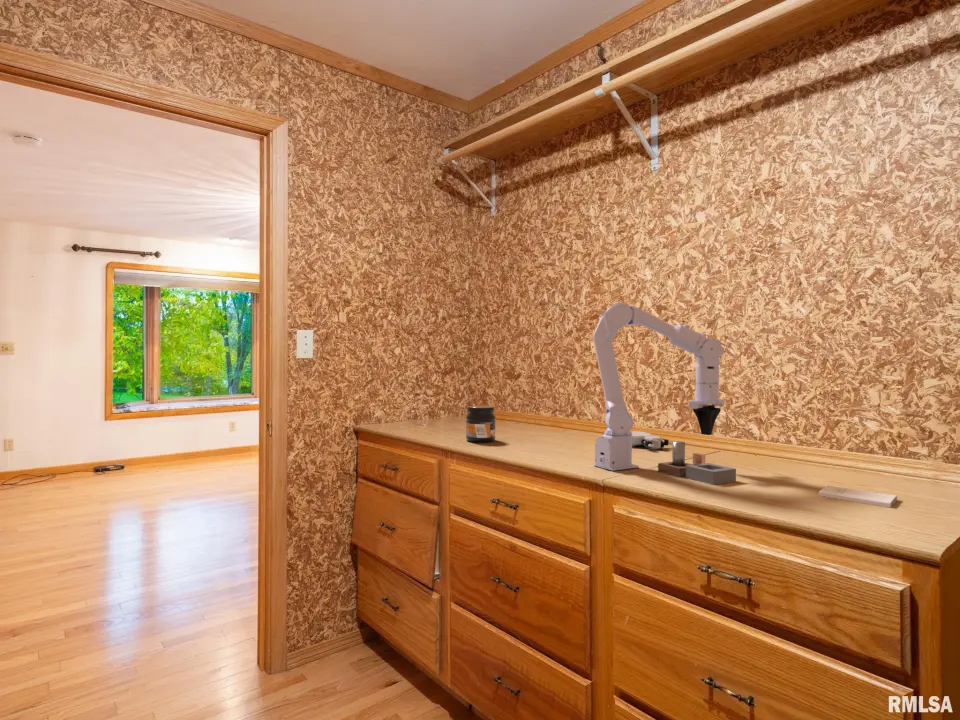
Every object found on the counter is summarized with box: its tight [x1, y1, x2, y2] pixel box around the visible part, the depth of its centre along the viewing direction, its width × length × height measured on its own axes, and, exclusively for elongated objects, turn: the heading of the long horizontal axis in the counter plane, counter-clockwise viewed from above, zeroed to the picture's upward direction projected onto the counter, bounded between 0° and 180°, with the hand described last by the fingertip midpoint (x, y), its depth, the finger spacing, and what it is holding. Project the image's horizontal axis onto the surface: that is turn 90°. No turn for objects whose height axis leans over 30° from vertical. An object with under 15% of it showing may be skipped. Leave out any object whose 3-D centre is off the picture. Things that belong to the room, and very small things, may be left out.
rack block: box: [685, 462, 737, 486], centre depth 130 cm, size 8×8×3 cm
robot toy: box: [630, 430, 673, 451], centre depth 176 cm, size 12×4×15 cm
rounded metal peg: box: [671, 440, 686, 467], centre depth 136 cm, size 3×3×8 cm
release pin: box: [692, 452, 706, 465], centre depth 139 cm, size 6×3×4 cm, turn 118°
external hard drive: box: [818, 485, 898, 508], centre depth 113 cm, size 2×8×12 cm
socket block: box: [657, 461, 693, 478], centre depth 137 cm, size 7×7×2 cm
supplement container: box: [465, 405, 497, 444], centre depth 187 cm, size 10×10×12 cm
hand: (706, 434), depth 141 cm, fingers closed
